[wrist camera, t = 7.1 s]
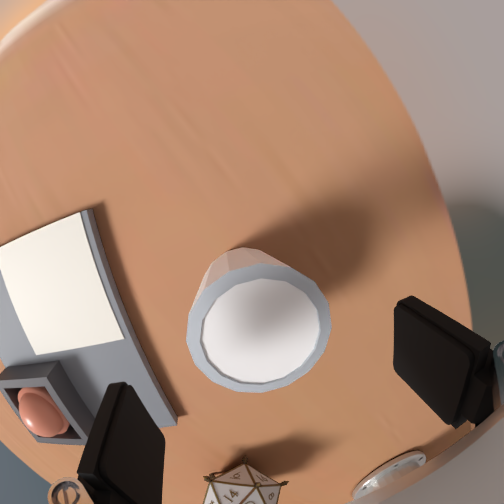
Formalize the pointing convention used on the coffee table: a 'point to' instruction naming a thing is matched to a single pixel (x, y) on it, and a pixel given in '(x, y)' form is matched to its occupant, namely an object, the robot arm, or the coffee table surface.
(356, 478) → the coffee table surface
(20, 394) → the dome
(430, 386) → the robot arm
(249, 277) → the shot glass
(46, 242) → the board
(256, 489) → the game die
